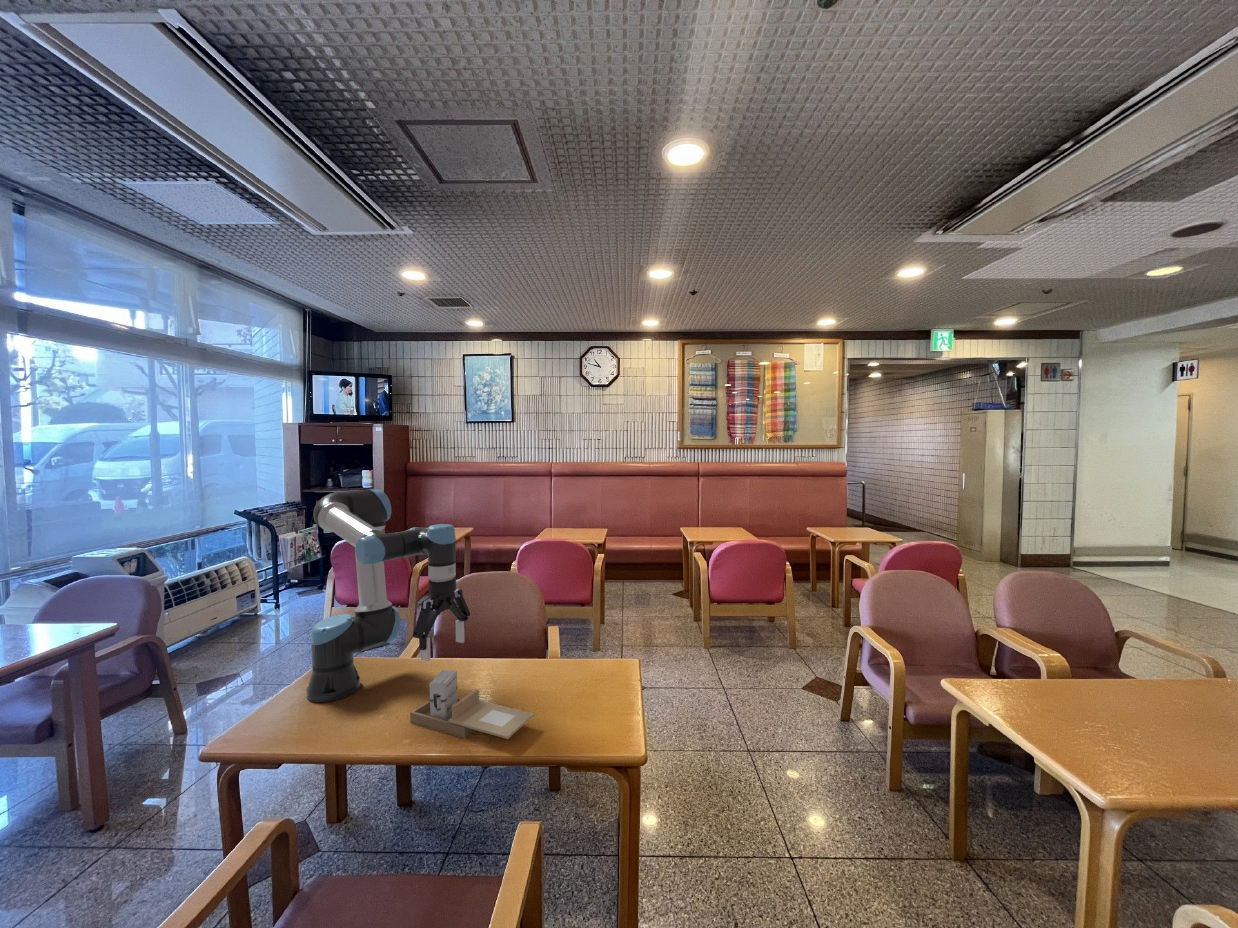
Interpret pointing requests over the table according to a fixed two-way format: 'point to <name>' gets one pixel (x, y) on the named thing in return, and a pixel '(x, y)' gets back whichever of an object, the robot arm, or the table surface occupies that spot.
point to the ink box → (443, 695)
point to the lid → (488, 716)
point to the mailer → (437, 722)
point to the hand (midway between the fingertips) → (443, 650)
